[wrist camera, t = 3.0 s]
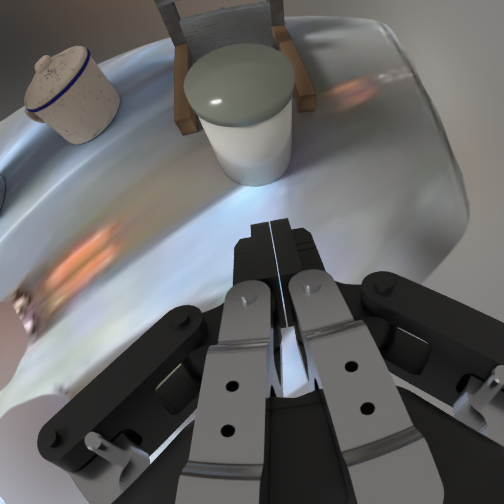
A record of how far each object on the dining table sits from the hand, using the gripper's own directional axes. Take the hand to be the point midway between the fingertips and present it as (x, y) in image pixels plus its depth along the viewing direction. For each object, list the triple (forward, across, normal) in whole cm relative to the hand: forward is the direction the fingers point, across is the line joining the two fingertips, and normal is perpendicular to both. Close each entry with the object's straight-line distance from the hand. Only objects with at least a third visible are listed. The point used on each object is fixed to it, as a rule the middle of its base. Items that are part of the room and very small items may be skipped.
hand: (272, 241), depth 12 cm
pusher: (+26, 0, -11) cm, 28 cm away
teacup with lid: (+24, +20, -8) cm, 32 cm away
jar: (+15, 0, 0) cm, 15 cm away
